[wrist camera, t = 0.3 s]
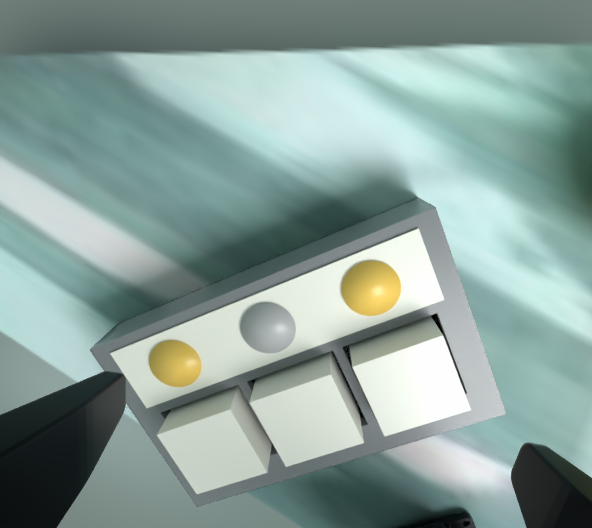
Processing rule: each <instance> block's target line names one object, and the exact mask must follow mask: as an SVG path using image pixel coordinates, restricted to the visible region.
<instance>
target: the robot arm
mask: <svg viewBox="0 0 592 528" xmlns="http://www.w3.org/2000/svg"><path fill="white" fill-rule="evenodd" d="M125 404H126V377H125V375H124V374H123V373H118V372H112V371H104V372H102V373H99V374H97V375H95V376H92V377H90V378H87V379H85V380H83V381H80V382H78V383H75V384H73V385H71V386H68V387H66V388H64V389H61V390H59V391H57V392H54V393H52V394H49V395H47V396H44V397H42V398H40V399H37V400H35V401H32V402H30V403H28V404H25V405H23V406H20V407H18V408H16V409H13V410H11V411H8V412H6V413H4V414H1V415H0V528H57V526H58V525H59V523H60V522H61V520H62V519H63V517H64V515H65V514H66V513H67V511H68V510H69V508H70V507H71V505H72V503H73V502H74V501H75V499H76V498H77V496H78V494H79V493H80V491H81V490H82V488H83V487H84V485H85V484H86V482H87V480H88V479H89V477H90V475H91V473H92V471H93V470H94V467H95V466H96V464H97V462H98V460H99V458H100V457H101V455H102V453H103V451H104V449H105V447H106V445H107V443H108V441H109V439H110V438H111V436H112V434H113V432H114V430H115V428H116V426H117V424H118V423H119V420H120V419H121V417H122V415H123V412H124V409H125ZM511 480H512V485H513V488H514V491H515V494H516V497H517V500H518V503H519V506H520V509H521V512H522V515H523V518H524V521H525V524H526V527H527V528H592V478H591V477H590V476H588V475H587V474H585V473H584V472H582V471H581V470H580V469H578V468H577V467H575V466H574V465H572V464H571V463H570V462H568V461H567V460H565V459H564V458H563V457H561V456H560V455H558V454H557V453H555V452H554V451H553V450H551V449H550V448H548V447H547V446H544V445H540V444H534V443H525V444H523V445H522V447H521V449H520V451H519V454H518V456H517V459H516V461H515V464H514V466H513V468H512V472H511ZM406 528H476V527H475V524H474V522H473V519H472V517H471V515H470V514H468V513H460V514H456V515H452V516H448V517H445V518H441V519H437V520H433V521H429V522H425V523H421V524H418V525H414V526H410V527H406Z"/></svg>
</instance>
